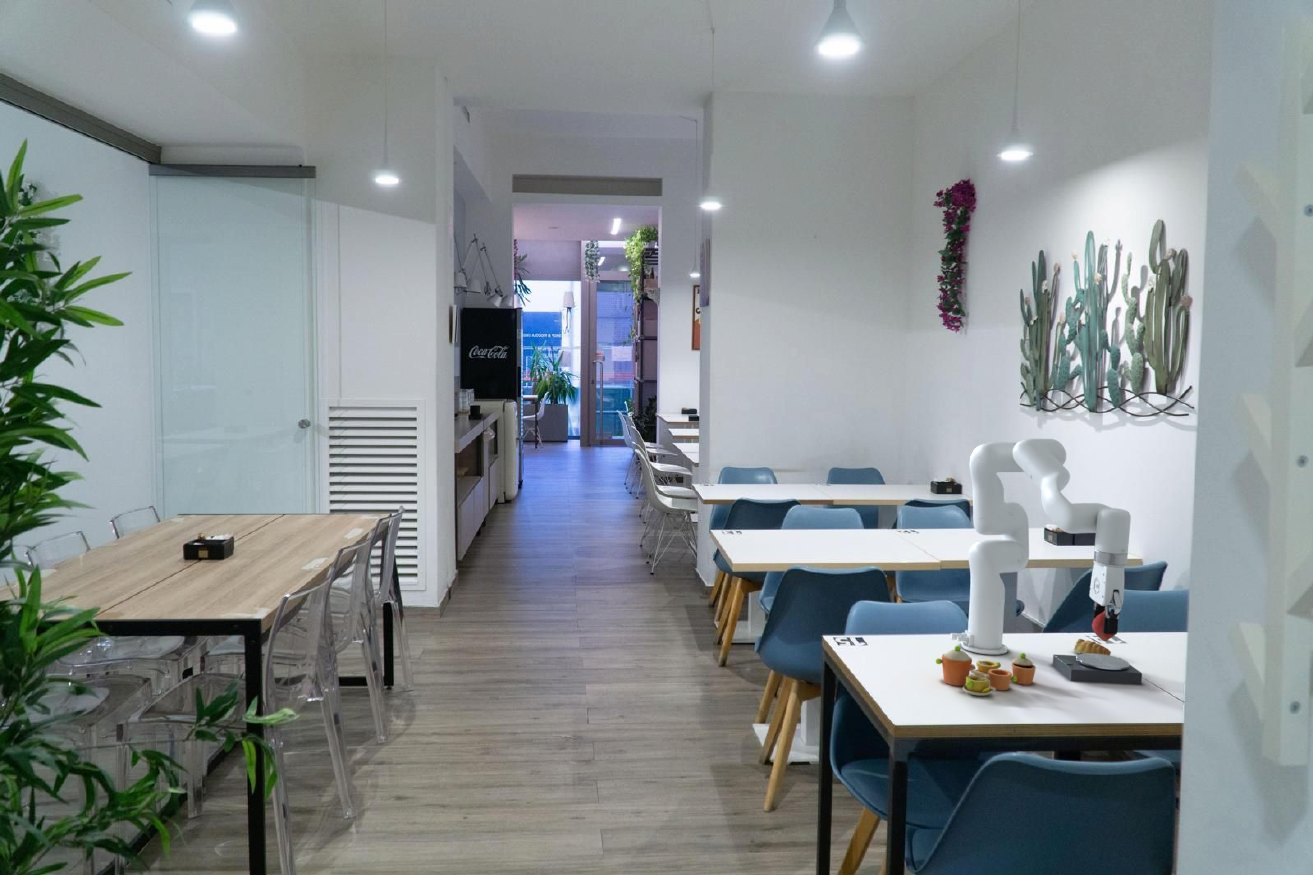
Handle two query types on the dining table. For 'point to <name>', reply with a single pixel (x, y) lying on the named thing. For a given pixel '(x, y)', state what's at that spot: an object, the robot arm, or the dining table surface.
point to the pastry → (1090, 648)
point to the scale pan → (1102, 661)
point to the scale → (1094, 672)
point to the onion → (1101, 627)
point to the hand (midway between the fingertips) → (1104, 629)
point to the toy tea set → (983, 672)
